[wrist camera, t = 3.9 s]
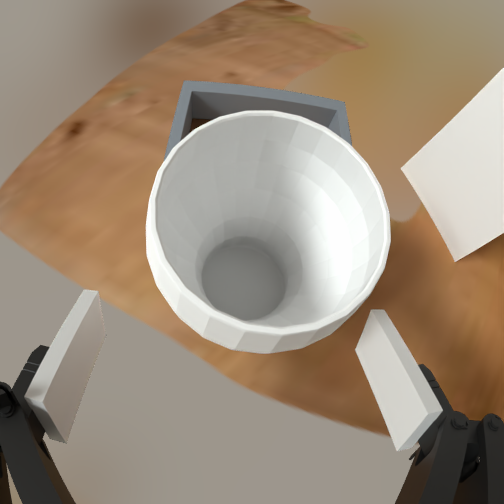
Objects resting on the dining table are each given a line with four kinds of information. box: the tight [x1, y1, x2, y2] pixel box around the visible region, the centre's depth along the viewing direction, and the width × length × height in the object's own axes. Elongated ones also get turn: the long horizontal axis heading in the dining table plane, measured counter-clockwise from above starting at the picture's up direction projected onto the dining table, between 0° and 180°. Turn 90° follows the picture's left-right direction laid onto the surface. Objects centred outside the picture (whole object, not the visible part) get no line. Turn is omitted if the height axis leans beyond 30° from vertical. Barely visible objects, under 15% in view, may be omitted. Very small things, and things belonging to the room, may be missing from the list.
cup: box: [146, 111, 391, 354], centre depth 19 cm, size 11×11×15 cm
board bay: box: [164, 81, 352, 161], centre depth 28 cm, size 16×10×4 cm, turn 87°
